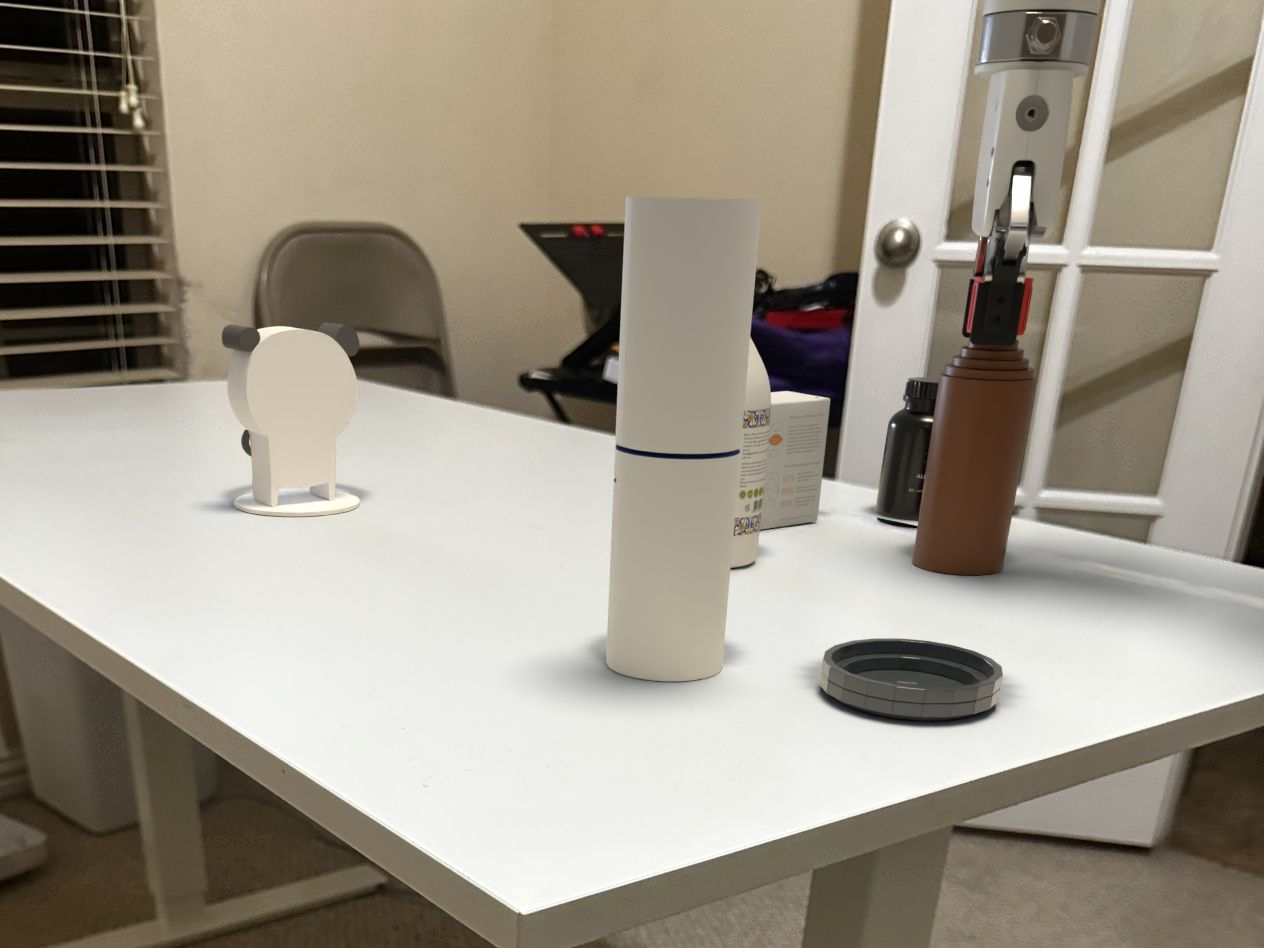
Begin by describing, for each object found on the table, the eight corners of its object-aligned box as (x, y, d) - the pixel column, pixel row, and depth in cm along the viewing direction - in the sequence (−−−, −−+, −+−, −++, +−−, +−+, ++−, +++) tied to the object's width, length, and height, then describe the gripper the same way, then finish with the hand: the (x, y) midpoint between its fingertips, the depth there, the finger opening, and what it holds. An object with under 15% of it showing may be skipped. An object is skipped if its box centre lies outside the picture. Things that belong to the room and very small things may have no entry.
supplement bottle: (923, 533, 120) (945, 386, 114) (859, 520, 124) (877, 377, 118) (966, 524, 124) (990, 381, 118) (902, 512, 128) (922, 373, 122)
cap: (954, 332, 101) (963, 276, 100) (987, 330, 104) (996, 275, 102) (1002, 336, 99) (1011, 279, 97) (1035, 334, 101) (1045, 278, 99)
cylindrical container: (636, 686, 80) (663, 197, 68) (587, 652, 86) (603, 196, 74) (743, 674, 82) (787, 200, 70) (688, 643, 88) (721, 199, 76)
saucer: (1031, 701, 79) (1037, 668, 78) (925, 737, 73) (931, 701, 72) (890, 660, 86) (895, 629, 85) (784, 690, 80) (787, 656, 79)
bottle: (1020, 567, 109) (1072, 288, 99) (968, 579, 105) (1017, 290, 95) (946, 551, 114) (989, 283, 104) (894, 562, 110) (933, 284, 100)
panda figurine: (327, 488, 133) (318, 318, 126) (389, 507, 125) (383, 327, 118) (213, 500, 127) (196, 321, 119) (271, 521, 119) (257, 331, 112)
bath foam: (757, 552, 112) (782, 279, 102) (756, 572, 106) (782, 284, 96) (672, 548, 113) (689, 277, 103) (666, 567, 107) (683, 281, 97)
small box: (776, 512, 127) (788, 390, 122) (818, 522, 123) (833, 397, 118) (710, 520, 123) (719, 394, 118) (752, 531, 119) (763, 402, 114)
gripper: (1115, 37, 85) (1056, 353, 94) (1071, 62, 100) (1024, 334, 109) (990, 36, 86) (944, 349, 95) (965, 62, 101) (927, 331, 110)
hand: (987, 338), depth 102 cm, fingers open, 5 cm apart
